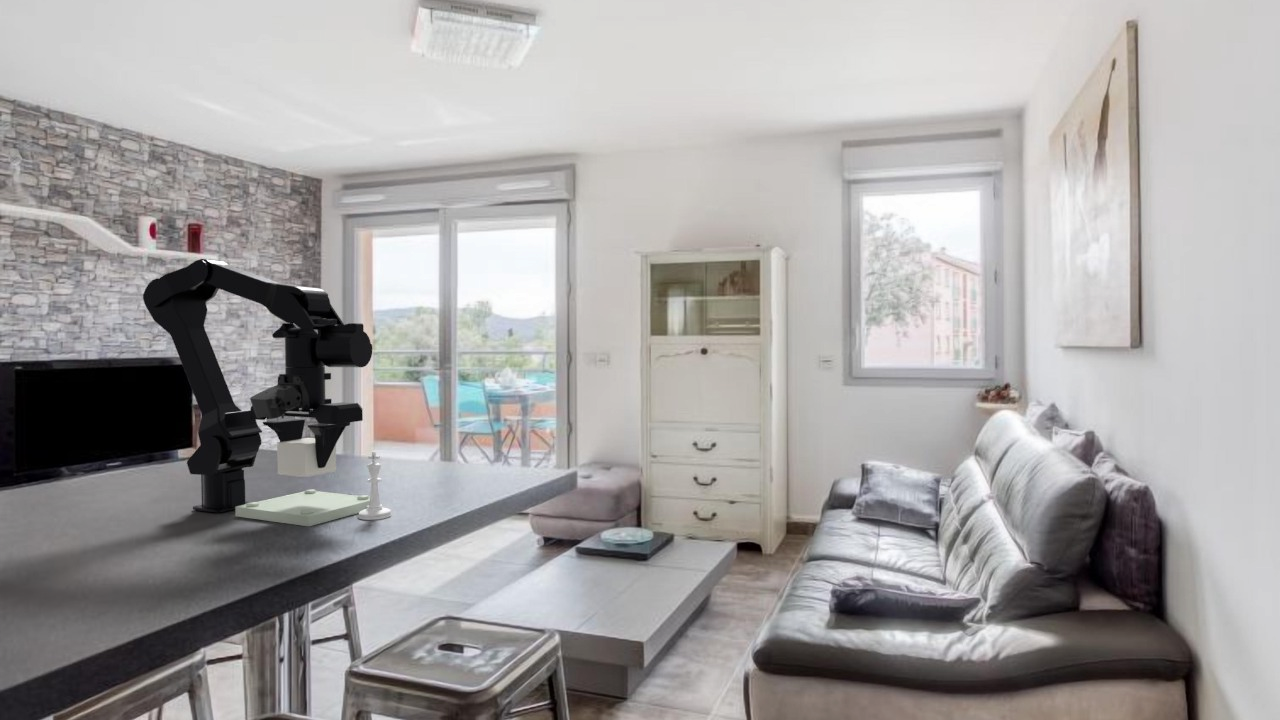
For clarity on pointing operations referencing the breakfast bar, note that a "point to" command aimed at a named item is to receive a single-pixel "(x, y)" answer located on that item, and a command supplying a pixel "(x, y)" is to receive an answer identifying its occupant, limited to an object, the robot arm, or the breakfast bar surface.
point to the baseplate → (304, 507)
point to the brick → (301, 458)
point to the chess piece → (374, 494)
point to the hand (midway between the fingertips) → (306, 466)
